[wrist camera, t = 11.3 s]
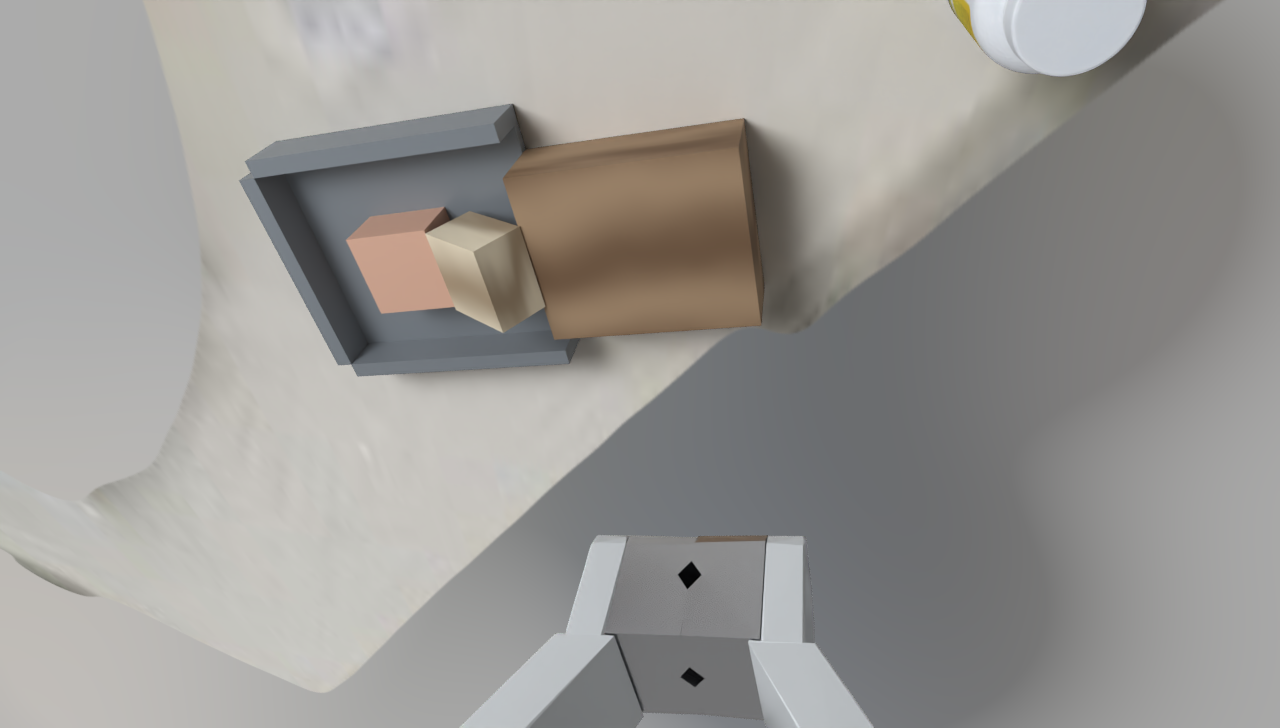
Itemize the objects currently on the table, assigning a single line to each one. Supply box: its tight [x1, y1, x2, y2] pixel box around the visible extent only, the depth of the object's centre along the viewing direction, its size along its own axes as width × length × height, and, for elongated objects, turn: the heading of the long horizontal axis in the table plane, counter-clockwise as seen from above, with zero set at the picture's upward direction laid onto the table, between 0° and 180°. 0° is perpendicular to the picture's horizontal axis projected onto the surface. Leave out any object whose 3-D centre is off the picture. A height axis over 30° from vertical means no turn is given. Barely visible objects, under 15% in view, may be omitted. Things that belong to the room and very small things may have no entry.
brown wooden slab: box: [502, 118, 764, 340], centre depth 41 cm, size 10×12×4 cm
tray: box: [239, 104, 580, 376], centre depth 45 cm, size 15×16×3 cm
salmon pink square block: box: [346, 207, 455, 314], centre depth 44 cm, size 5×5×3 cm
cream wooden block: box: [425, 211, 545, 333], centre depth 41 cm, size 5×5×3 cm
